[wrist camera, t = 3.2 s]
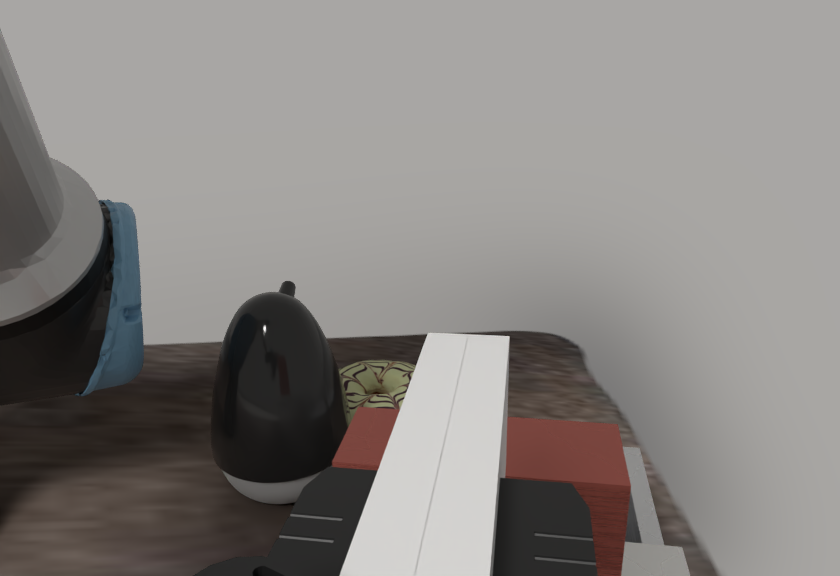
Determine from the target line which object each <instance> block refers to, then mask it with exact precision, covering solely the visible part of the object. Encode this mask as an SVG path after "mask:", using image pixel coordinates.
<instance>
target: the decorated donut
mask: <svg viewBox="0 0 840 576" xmlns="http://www.w3.org/2000/svg"><path fill="white" fill-rule="evenodd" d="M415 367H416V366H415V365H412V364H409V363H406V362H399V361H396V362H395V361H389V360H367V361H361V362H355V363H353V364H350V365H347V366H345V367H343V368H341V369H339V372H340V375H341V378H342V381H343V385H344V388H345V392H346V396H347V400H348V404H349V409H350V413H351V419H353V417H354V415H355V412H356V410H357V408H358V407H371V408H385V409H400V408H401V406H402V403H403V400H404V397H405V395H406V392H407V389H408V387H409V384H410V381H411V378H412V376H413V373H414V370H415Z"/></svg>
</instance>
